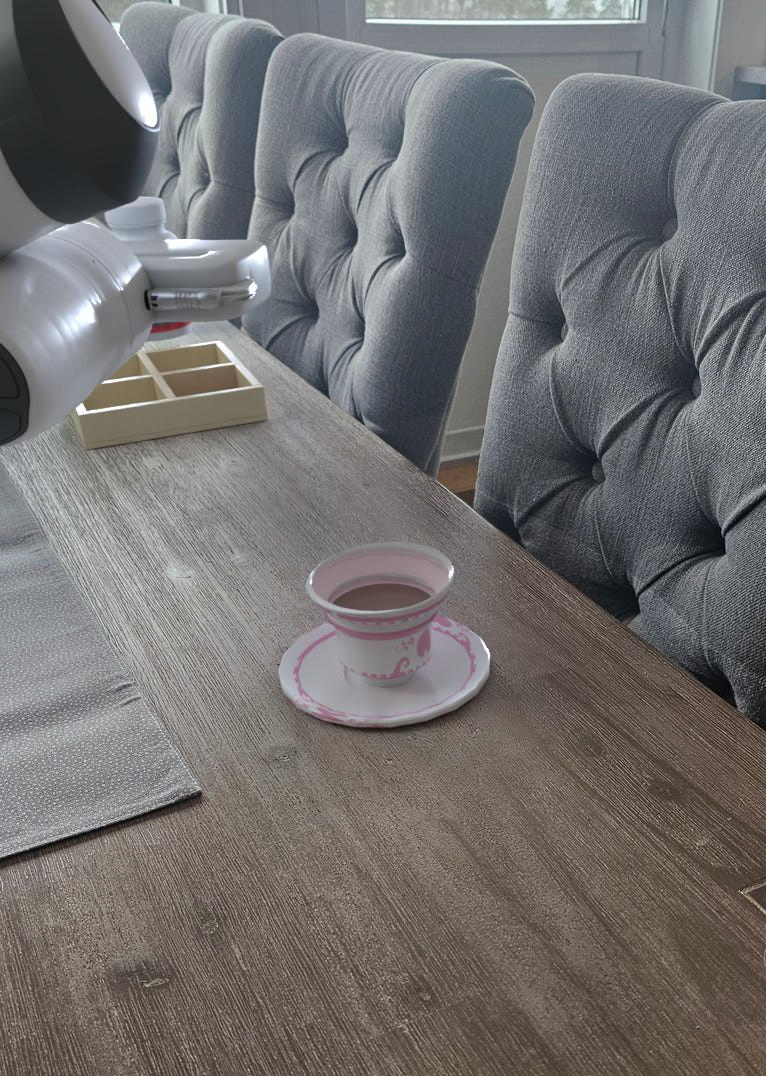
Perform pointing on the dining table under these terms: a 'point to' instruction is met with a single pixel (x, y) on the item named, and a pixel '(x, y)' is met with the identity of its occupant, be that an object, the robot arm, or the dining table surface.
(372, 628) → the teacup
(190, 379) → the divided tray
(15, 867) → the dining table surface
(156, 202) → the pill bottle
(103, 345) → the robot arm
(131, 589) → the dining table surface
